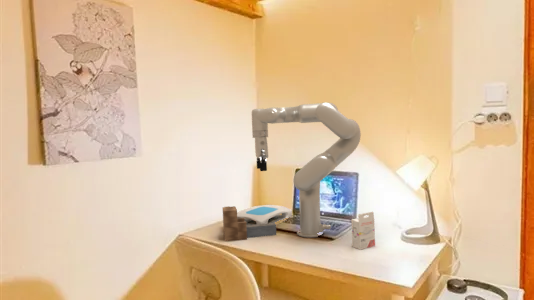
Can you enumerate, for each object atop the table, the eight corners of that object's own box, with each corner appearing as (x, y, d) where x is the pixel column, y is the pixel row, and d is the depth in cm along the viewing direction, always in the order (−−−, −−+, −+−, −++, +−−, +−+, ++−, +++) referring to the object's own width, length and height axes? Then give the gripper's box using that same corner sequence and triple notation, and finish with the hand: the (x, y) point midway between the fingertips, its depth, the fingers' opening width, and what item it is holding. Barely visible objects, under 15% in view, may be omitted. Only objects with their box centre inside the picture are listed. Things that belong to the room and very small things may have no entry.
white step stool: (230, 225, 200) (229, 214, 199) (262, 213, 222) (262, 203, 222) (262, 231, 187) (261, 219, 187) (293, 218, 210) (292, 207, 209)
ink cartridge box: (367, 242, 164) (366, 209, 163) (375, 246, 159) (374, 211, 158) (351, 246, 160) (350, 212, 159) (359, 250, 155) (358, 214, 154)
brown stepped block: (241, 226, 197) (240, 199, 195) (247, 239, 175) (245, 209, 174) (222, 228, 195) (220, 201, 194) (225, 241, 173) (223, 211, 172)
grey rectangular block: (274, 233, 183) (274, 218, 183) (276, 235, 180) (275, 220, 179) (239, 236, 180) (238, 221, 179) (240, 238, 177) (239, 223, 176)
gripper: (271, 134, 176) (272, 171, 177) (264, 133, 193) (266, 167, 194) (255, 135, 174) (256, 172, 176) (250, 134, 191) (251, 168, 193)
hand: (261, 169), depth 185 cm, fingers open, 9 cm apart
